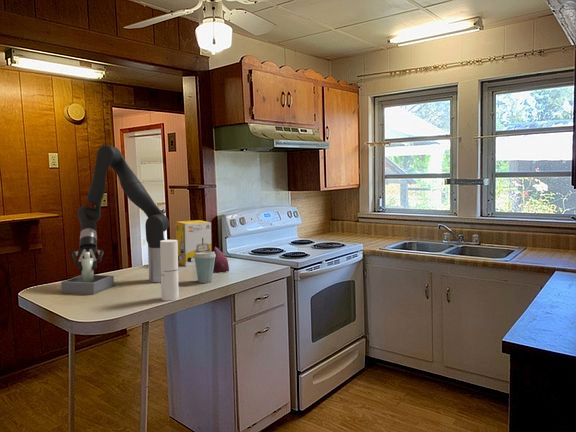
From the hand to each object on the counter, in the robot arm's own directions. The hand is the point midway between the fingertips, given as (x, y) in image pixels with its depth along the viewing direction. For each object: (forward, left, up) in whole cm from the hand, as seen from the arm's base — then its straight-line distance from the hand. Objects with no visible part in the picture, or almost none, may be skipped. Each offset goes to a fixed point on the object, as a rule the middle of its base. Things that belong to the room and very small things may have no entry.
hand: (87, 269), depth 206 cm
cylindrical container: (-43, +7, -10) cm, 45 cm away
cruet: (+1, -2, -6) cm, 6 cm away
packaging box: (-23, -70, -10) cm, 75 cm away
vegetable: (-46, -51, -10) cm, 70 cm away
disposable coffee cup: (-47, -25, -10) cm, 55 cm away
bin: (+1, -1, -10) cm, 10 cm away
